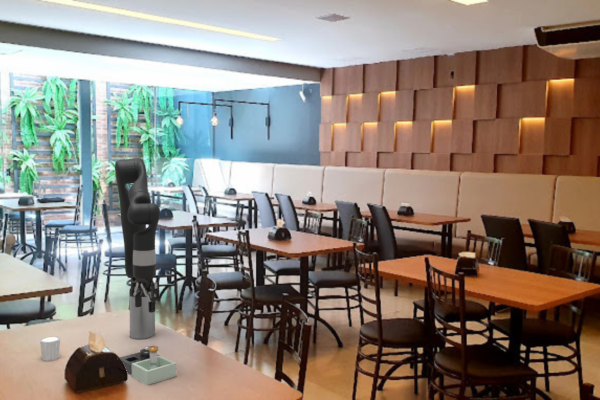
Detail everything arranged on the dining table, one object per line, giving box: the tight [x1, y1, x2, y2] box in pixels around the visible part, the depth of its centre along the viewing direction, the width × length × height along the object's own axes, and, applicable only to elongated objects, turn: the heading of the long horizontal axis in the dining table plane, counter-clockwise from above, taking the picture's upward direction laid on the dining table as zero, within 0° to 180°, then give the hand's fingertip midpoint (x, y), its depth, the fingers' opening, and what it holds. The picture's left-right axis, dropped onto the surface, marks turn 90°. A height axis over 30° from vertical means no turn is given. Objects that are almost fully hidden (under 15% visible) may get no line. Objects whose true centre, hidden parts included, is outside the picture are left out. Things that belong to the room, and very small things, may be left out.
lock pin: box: [148, 345, 159, 369], centre depth 193 cm, size 3×3×9 cm
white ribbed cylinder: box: [39, 336, 61, 362], centre depth 209 cm, size 7×7×7 cm
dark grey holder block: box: [118, 346, 161, 376], centre depth 202 cm, size 12×9×6 cm
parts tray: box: [131, 355, 177, 386], centre depth 193 cm, size 11×10×4 cm
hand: (145, 309), depth 194 cm, fingers open, 8 cm apart
